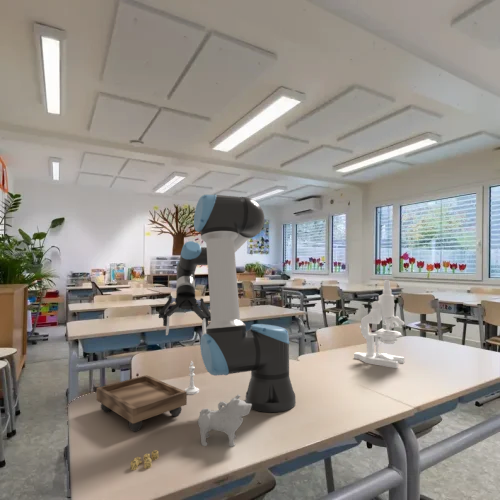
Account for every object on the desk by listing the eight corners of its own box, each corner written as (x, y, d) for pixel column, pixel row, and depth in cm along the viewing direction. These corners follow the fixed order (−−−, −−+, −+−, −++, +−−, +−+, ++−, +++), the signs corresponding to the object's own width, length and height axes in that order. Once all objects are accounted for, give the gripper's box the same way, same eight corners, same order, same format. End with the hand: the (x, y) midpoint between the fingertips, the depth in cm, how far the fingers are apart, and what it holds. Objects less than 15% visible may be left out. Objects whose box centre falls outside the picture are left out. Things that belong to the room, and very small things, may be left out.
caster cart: (186, 415, 97) (186, 391, 97) (132, 436, 86) (132, 409, 86) (146, 395, 112) (146, 375, 113) (96, 410, 101) (96, 387, 101)
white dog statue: (251, 447, 80) (251, 400, 80) (196, 446, 81) (196, 400, 81) (252, 436, 85) (252, 392, 86) (200, 435, 86) (200, 391, 86)
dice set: (159, 458, 77) (159, 449, 77) (153, 472, 72) (153, 463, 72) (136, 459, 76) (136, 450, 77) (128, 473, 71) (128, 463, 71)
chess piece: (201, 390, 117) (201, 360, 117) (194, 395, 112) (194, 363, 113) (188, 388, 119) (188, 358, 119) (181, 393, 114) (181, 362, 114)
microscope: (376, 369, 138) (374, 281, 139) (351, 357, 157) (350, 279, 158) (415, 366, 142) (413, 280, 143) (386, 354, 161) (384, 278, 162)
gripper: (213, 298, 149) (217, 341, 134) (153, 293, 141) (149, 338, 126) (217, 286, 144) (221, 329, 129) (155, 280, 137) (152, 326, 121)
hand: (186, 334), depth 127 cm, fingers open, 13 cm apart
